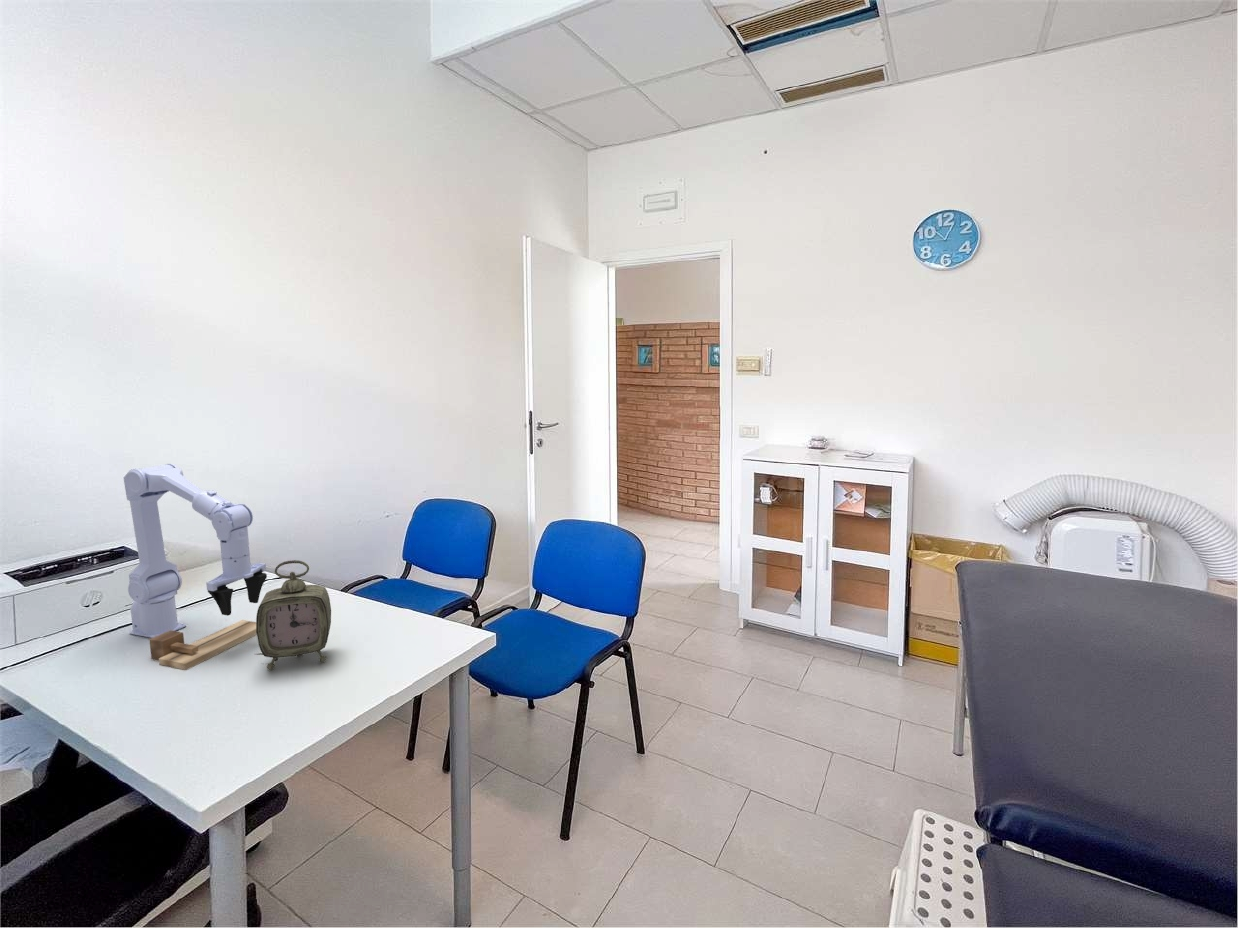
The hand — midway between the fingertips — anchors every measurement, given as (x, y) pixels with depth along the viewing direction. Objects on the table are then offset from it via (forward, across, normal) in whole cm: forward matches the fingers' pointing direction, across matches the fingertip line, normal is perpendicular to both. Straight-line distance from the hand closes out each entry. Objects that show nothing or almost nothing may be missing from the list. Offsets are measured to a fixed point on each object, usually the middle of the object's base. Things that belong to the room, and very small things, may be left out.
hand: (240, 608), depth 142 cm
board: (+10, -2, +6) cm, 12 cm away
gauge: (+10, -9, +10) cm, 17 cm away
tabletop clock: (+10, -2, -18) cm, 21 cm away
